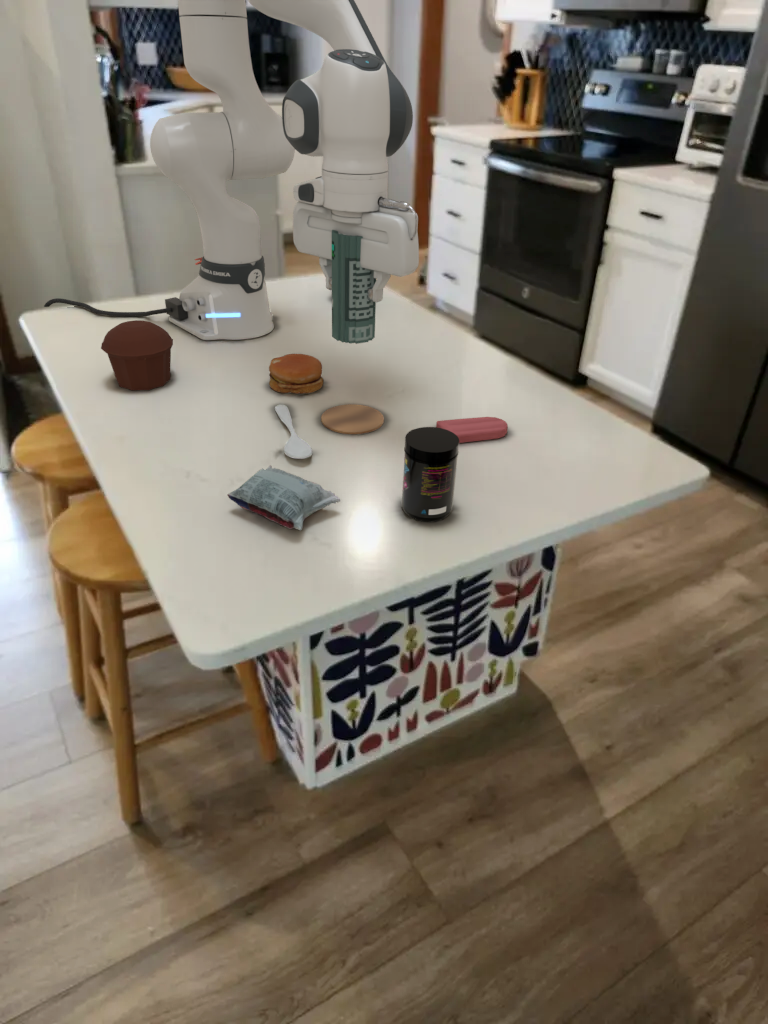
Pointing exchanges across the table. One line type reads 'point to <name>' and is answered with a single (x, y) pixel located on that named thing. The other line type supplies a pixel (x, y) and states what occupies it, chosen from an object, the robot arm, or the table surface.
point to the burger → (295, 374)
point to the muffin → (139, 354)
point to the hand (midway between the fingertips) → (353, 294)
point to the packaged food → (282, 497)
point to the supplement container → (429, 473)
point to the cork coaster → (352, 419)
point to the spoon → (293, 437)
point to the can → (351, 292)
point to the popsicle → (475, 428)
